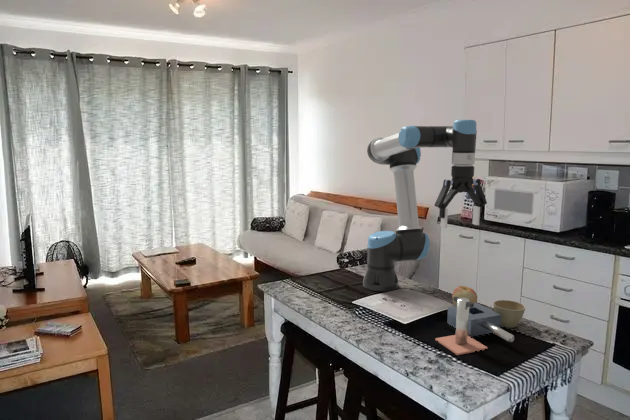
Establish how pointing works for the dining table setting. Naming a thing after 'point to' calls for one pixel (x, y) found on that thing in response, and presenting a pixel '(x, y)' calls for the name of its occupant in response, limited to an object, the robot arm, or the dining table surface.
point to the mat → (460, 349)
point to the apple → (465, 294)
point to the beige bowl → (509, 312)
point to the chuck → (481, 322)
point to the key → (462, 319)
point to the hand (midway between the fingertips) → (459, 225)
